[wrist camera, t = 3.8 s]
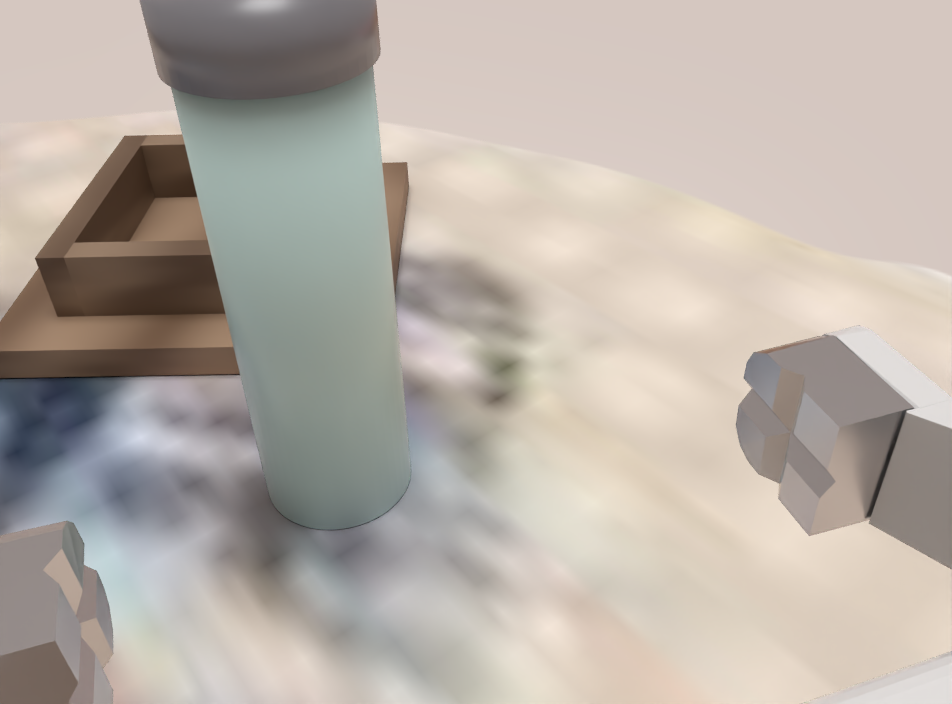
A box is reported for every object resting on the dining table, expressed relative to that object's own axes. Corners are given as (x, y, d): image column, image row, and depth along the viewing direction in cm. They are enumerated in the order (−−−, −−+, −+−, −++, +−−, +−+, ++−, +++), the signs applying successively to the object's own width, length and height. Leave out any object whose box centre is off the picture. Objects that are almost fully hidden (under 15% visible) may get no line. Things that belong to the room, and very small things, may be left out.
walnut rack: (-9, 378, 32) (-50, 291, 29) (116, 191, 43) (94, 118, 40) (385, 371, 31) (375, 283, 29) (408, 185, 42) (403, 111, 40)
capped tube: (246, 536, 26) (105, 20, 17) (276, 423, 29) (173, -48, 20) (413, 533, 26) (361, 13, 17) (421, 420, 29) (382, -53, 20)
